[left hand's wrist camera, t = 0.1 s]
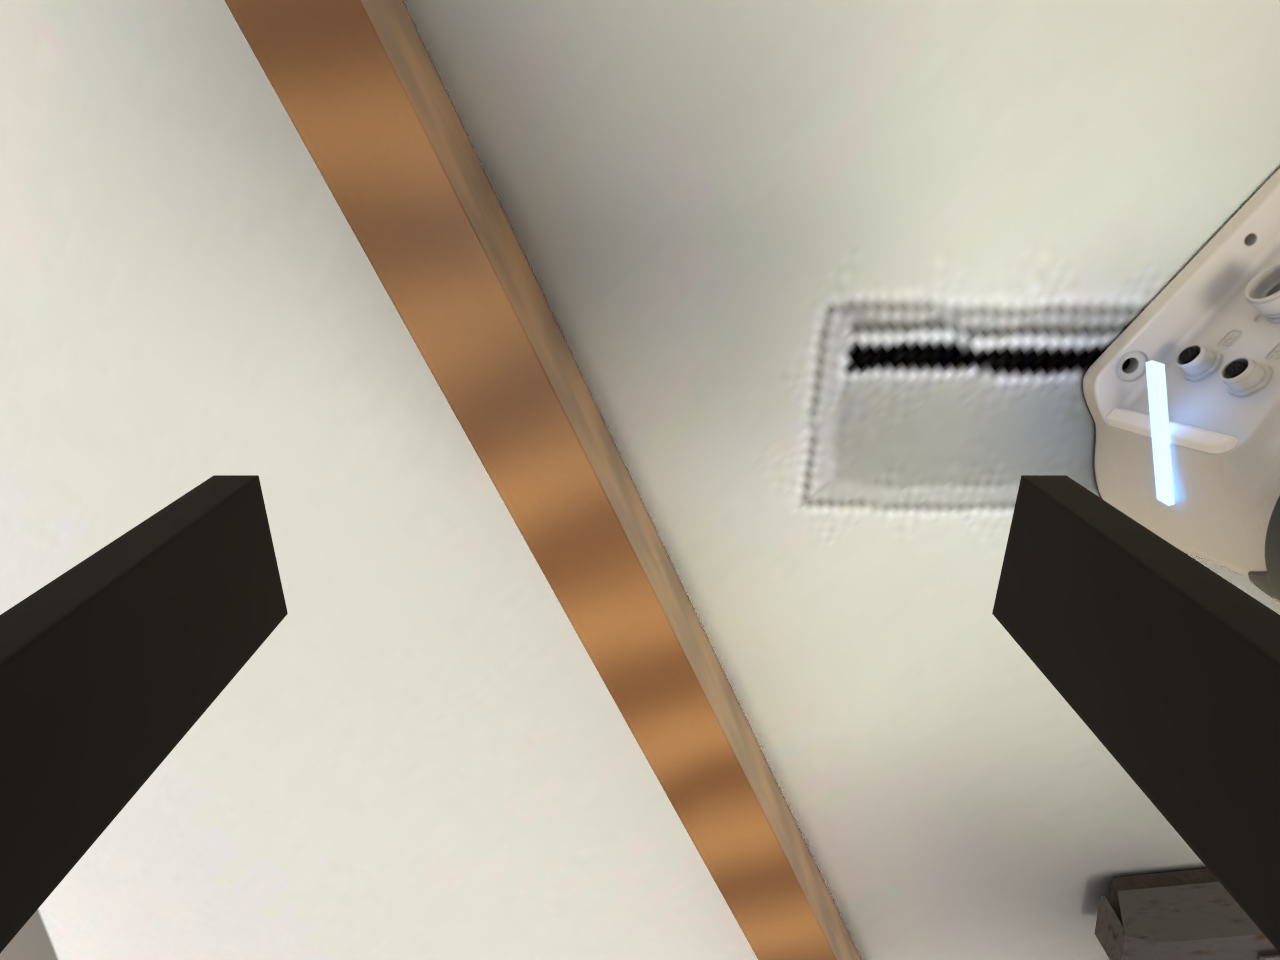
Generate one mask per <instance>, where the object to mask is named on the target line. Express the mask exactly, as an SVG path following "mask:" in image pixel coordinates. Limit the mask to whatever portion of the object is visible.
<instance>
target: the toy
mask: <svg viewBox="0 0 1280 960" xmlns="http://www.w3.org/2000/svg"><path fill="white" fill-rule="evenodd" d="M1095 935H1096V937H1097V938H1098V940H1099V942H1100V943H1101V945H1102V947H1103V948H1104V950H1105V952H1106V953H1107V955H1108V957H1109V958H1110V960H1280V953H1279V952H1278V950H1277V949H1276V948H1275V947H1274V946H1273V945H1272V943H1271V942H1270V941H1269V940H1268V939H1267V937H1266V936H1265V935H1264V934H1263V933H1262V932H1261V930H1260V929H1259V928H1258V927H1257V926H1256V924H1255V923H1254V922H1253V921H1252V920H1251V919H1250V917H1249V916H1248V915H1247V914H1246V913H1245V911H1244V910H1243V909H1242V908H1241V907H1240V906H1239V904H1238V903H1237V902H1236V901H1235V900H1234V898H1233V897H1232V896H1231V895H1230V894H1229V893H1228V891H1227V890H1226V889H1225V888H1224V887H1223V885H1222V884H1221V883H1220V882H1219V881H1218V880H1217V878H1216V877H1215V876H1214V875H1213V874H1212V872H1211V871H1210V870H1209V869H1208V868H1205V869H1194V870H1184V871H1174V872H1164V873H1154V874H1144V875H1134V876H1123V877H1115V878H1114V879H1113V881H1112V884H1111V890H1110V897H1109V902H1108V900H1107V899H1106V897H1105V896H1100V901H1099V908H1098V915H1097V922H1096V929H1095Z"/></svg>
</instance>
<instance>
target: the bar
mask: <svg viewBox="0 0 1280 960" xmlns="http://www.w3.org/2000/svg"><path fill="white" fill-rule="evenodd" d="M225 2H226V4H227V5H228V7H229V9H230V11H231V13H232V14H233V16H234V18H235V20H236V22H237V23H238V25H239V27H240V29H241V31H242V32H243V34H244V36H245V38H246V40H247V41H248V43H249V45H250V47H251V49H252V50H253V52H254V54H255V56H256V58H257V59H258V61H259V63H260V65H261V66H262V68H263V70H264V72H265V74H266V75H267V77H268V79H269V81H270V83H271V84H272V86H273V88H274V90H275V92H276V93H277V95H278V97H279V99H280V101H281V102H282V104H283V106H284V108H285V110H286V111H287V113H288V115H289V117H290V119H291V120H292V122H293V124H294V126H295V128H296V129H297V131H298V133H299V135H300V137H301V138H302V140H303V142H304V144H305V146H306V147H307V149H308V151H309V153H310V155H311V156H312V158H313V160H314V162H315V164H316V165H317V167H318V169H319V171H320V173H321V174H322V176H323V178H324V180H325V182H326V183H327V185H328V187H329V189H330V190H331V192H332V194H333V196H334V198H335V199H336V201H337V203H338V205H339V207H340V208H341V210H342V212H343V214H344V216H345V217H346V219H347V221H348V223H349V225H350V226H351V228H352V230H353V232H354V234H355V235H356V237H357V239H358V241H359V243H360V244H361V246H362V248H363V250H364V252H365V253H366V255H367V257H368V259H369V261H370V262H371V264H372V266H373V268H374V270H375V271H376V273H377V275H378V277H379V279H380V280H381V282H382V284H383V286H384V288H385V289H386V291H387V293H388V295H389V297H390V298H391V300H392V302H393V304H394V306H395V307H396V309H397V311H398V313H399V315H400V316H401V318H402V320H403V322H404V323H405V325H406V327H407V329H408V331H409V332H410V334H411V336H412V338H413V340H414V341H415V343H416V345H417V347H418V349H419V350H420V352H421V354H422V356H423V358H424V359H425V361H426V363H427V365H428V367H429V368H430V370H431V372H432V374H433V376H434V377H435V379H436V381H437V383H438V385H439V386H440V388H441V390H442V392H443V394H444V395H445V397H446V399H447V401H448V403H449V404H450V406H451V408H452V410H453V412H454V413H455V415H456V417H457V419H458V421H459V422H460V424H461V426H462V428H463V430H464V431H465V433H466V435H467V437H468V439H469V440H470V442H471V444H472V446H473V447H474V449H475V451H476V453H477V455H478V456H479V458H480V460H481V462H482V464H483V465H484V467H485V469H486V471H487V473H488V474H489V476H490V478H491V480H492V482H493V483H494V485H495V487H496V489H497V491H498V492H499V494H500V496H501V498H502V500H503V501H504V503H505V505H506V507H507V509H508V510H509V512H510V514H511V516H512V518H513V519H514V521H515V523H516V525H517V527H518V528H519V530H520V532H521V534H522V536H523V537H524V539H525V541H526V543H527V545H528V546H529V548H530V550H531V552H532V554H533V555H534V557H535V559H536V561H537V563H538V564H539V566H540V568H541V570H542V572H543V573H544V575H545V577H546V579H547V580H548V582H549V584H550V586H551V588H552V589H553V591H554V593H555V595H556V597H557V598H558V600H559V602H560V604H561V606H562V607H563V609H564V611H565V613H566V615H567V616H568V618H569V620H570V622H571V624H572V625H573V627H574V629H575V631H576V633H577V634H578V636H579V638H580V640H581V642H582V643H583V645H584V647H585V649H586V651H587V652H588V654H589V656H590V658H591V660H592V661H593V663H594V665H595V667H596V669H597V670H598V672H599V674H600V676H601V678H602V679H603V681H604V683H605V685H606V687H607V688H608V690H609V692H610V694H611V696H612V697H613V699H614V701H615V703H616V704H617V706H618V708H619V710H620V712H621V713H622V715H623V717H624V719H625V721H626V722H627V724H628V726H629V728H630V730H631V731H632V733H633V735H634V737H635V739H636V740H637V742H638V744H639V746H640V748H641V749H642V751H643V753H644V755H645V757H646V758H647V760H648V762H649V764H650V766H651V767H652V769H653V771H654V773H655V775H656V776H657V778H658V780H659V782H660V784H661V785H662V787H663V789H664V791H665V793H666V794H667V796H668V798H669V800H670V802H671V803H672V805H673V807H674V809H675V811H676V812H677V814H678V816H679V818H680V820H681V821H682V823H683V825H684V827H685V829H686V830H687V832H688V834H689V836H690V837H691V839H692V841H693V843H694V845H695V846H696V848H697V850H698V852H699V854H700V855H701V857H702V859H703V861H704V863H705V864H706V866H707V868H708V870H709V872H710V873H711V875H712V877H713V879H714V881H715V882H716V884H717V886H718V888H719V890H720V891H721V893H722V895H723V897H724V899H725V900H726V902H727V904H728V906H729V908H730V909H731V911H732V913H733V915H734V917H735V918H736V920H737V922H738V924H739V926H740V927H741V929H742V931H743V933H744V935H745V936H746V938H747V940H748V942H749V944H750V945H751V947H752V949H753V951H754V953H755V954H756V956H757V958H758V960H861V958H860V956H859V954H858V952H857V950H856V948H855V945H854V943H853V941H852V939H851V937H850V935H849V933H848V931H847V929H846V927H845V925H844V922H843V920H842V918H841V916H840V914H839V912H838V910H837V908H836V906H835V904H834V902H833V899H832V897H831V895H830V893H829V891H828V889H827V887H826V885H825V883H824V881H823V879H822V876H821V874H820V872H819V870H818V868H817V866H816V864H815V862H814V860H813V858H812V856H811V853H810V851H809V849H808V847H807V845H806V843H805V841H804V839H803V837H802V835H801V833H800V830H799V828H798V826H797V824H796V822H795V820H794V818H793V816H792V814H791V812H790V810H789V807H788V805H787V803H786V801H785V799H784V797H783V795H782V793H781V791H780V789H779V787H778V784H777V782H776V780H775V778H774V776H773V774H772V772H771V770H770V768H769V766H768V764H767V761H766V759H765V757H764V755H763V753H762V751H761V749H760V747H759V745H758V743H757V741H756V738H755V736H754V734H753V732H752V730H751V728H750V726H749V724H748V722H747V720H746V718H745V715H744V713H743V711H742V709H741V707H740V705H739V703H738V701H737V699H736V697H735V695H734V692H733V690H732V688H731V686H730V684H729V682H728V680H727V678H726V676H725V674H724V672H723V669H722V667H721V665H720V663H719V661H718V659H717V657H716V655H715V653H714V651H713V649H712V646H711V644H710V642H709V640H708V638H707V636H706V634H705V632H704V630H703V628H702V626H701V623H700V621H699V619H698V617H697V615H696V613H695V611H694V609H693V607H692V605H691V603H690V600H689V598H688V596H687V594H686V592H685V590H684V588H683V586H682V584H681V582H680V580H679V577H678V575H677V573H676V571H675V569H674V567H673V565H672V563H671V561H670V559H669V557H668V554H667V552H666V550H665V548H664V546H663V544H662V542H661V540H660V538H659V536H658V534H657V531H656V529H655V527H654V525H653V523H652V521H651V519H650V517H649V515H648V513H647V511H646V508H645V506H644V504H643V502H642V500H641V498H640V496H639V494H638V492H637V490H636V488H635V485H634V483H633V481H632V479H631V477H630V475H629V473H628V471H627V469H626V467H625V465H624V462H623V460H622V458H621V456H620V454H619V452H618V450H617V448H616V446H615V444H614V442H613V439H612V437H611V435H610V433H609V431H608V429H607V427H606V425H605V423H604V421H603V419H602V416H601V414H600V412H599V410H598V408H597V406H596V404H595V402H594V400H593V398H592V396H591V393H590V391H589V389H588V387H587V385H586V383H585V381H584V379H583V377H582V375H581V373H580V370H579V368H578V366H577V364H576V362H575V360H574V358H573V356H572V354H571V352H570V350H569V347H568V345H567V343H566V341H565V339H564V337H563V335H562V333H561V331H560V329H559V327H558V324H557V322H556V320H555V318H554V316H553V314H552V312H551V310H550V308H549V306H548V304H547V301H546V299H545V297H544V295H543V293H542V291H541V289H540V287H539V285H538V283H537V281H536V278H535V276H534V274H533V272H532V270H531V268H530V266H529V264H528V262H527V260H526V258H525V255H524V253H523V251H522V249H521V247H520V245H519V243H518V241H517V239H516V237H515V235H514V233H513V230H512V228H511V226H510V224H509V222H508V220H507V218H506V216H505V214H504V212H503V210H502V207H501V205H500V203H499V201H498V199H497V197H496V195H495V193H494V191H493V189H492V187H491V184H490V182H489V180H488V178H487V176H486V174H485V172H484V170H483V168H482V166H481V164H480V161H479V159H478V157H477V155H476V153H475V151H474V149H473V147H472V145H471V143H470V141H469V138H468V136H467V134H466V132H465V130H464V128H463V126H462V124H461V122H460V120H459V118H458V115H457V113H456V111H455V109H454V107H453V105H452V103H451V101H450V99H449V97H448V95H447V92H446V90H445V88H444V86H443V84H442V82H441V80H440V78H439V76H438V74H437V72H436V69H435V67H434V65H433V63H432V61H431V59H430V57H429V55H428V53H427V51H426V49H425V46H424V44H423V42H422V40H421V38H420V36H419V34H418V32H417V30H416V28H415V26H414V23H413V21H412V19H411V17H410V15H409V13H408V11H407V9H406V7H405V5H404V3H403V0H225Z"/></svg>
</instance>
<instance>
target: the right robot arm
mask: <svg viewBox="0 0 1280 960" xmlns="http://www.w3.org/2000/svg"><path fill="white" fill-rule="evenodd" d="M1129 358H1130V363H1129V365H1128V367H1127V368H1126V369H1124V370H1122V365H1123V363H1124V362H1125V360H1127V359H1129ZM1083 392H1084V396H1085V400H1086V403H1087V405H1088V408H1089V410H1090V412H1091V415H1092V417H1093V419H1094V421H1095V426H1096V444H1095V458H1094V460H1095V476H1096V482H1097V486H1098V490H1099V493H1100V495H1101V498H1102V499H1103V500H1104V501H1106V502H1107V503H1109V504H1110V505H1112V506H1113V507H1115V508H1116V509H1118V510H1120V511H1121V512H1123V513H1124V514H1126V515H1127V516H1129V517H1130V518H1132V519H1133V520H1135V521H1136V522H1138V523H1139V524H1141V525H1142V526H1144V527H1146V528H1147V529H1149V530H1150V531H1152V532H1153V533H1155V534H1156V535H1158V536H1159V537H1161V538H1162V539H1164V540H1165V541H1167V542H1168V543H1170V544H1172V545H1173V546H1175V547H1176V548H1178V549H1179V550H1181V551H1183V552H1186V553H1189V554H1192V555H1195V556H1198V557H1201V558H1203V559H1206V560H1208V561H1211V562H1213V563H1216V564H1218V565H1220V566H1222V567H1225V568H1227V569H1229V570H1231V571H1233V572H1236V573H1238V574H1240V575H1242V576H1244V577H1246V578H1248V579H1250V581H1251V582H1252V583H1253V584H1254V585H1256V586H1257V587H1258V588H1259V589H1261V590H1262V591H1263V592H1265V593H1266V594H1268V595H1269V596H1271V600H1272V601H1274V602H1275V603H1277V604H1278V605H1280V168H1279V169H1278V170H1277V171H1276V172H1275V173H1274V174H1273V175H1272V176H1271V177H1270V178H1269V179H1268V180H1267V181H1266V182H1265V183H1264V185H1263V186H1262V187H1261V188H1260V189H1259V190H1258V191H1257V192H1256V193H1255V194H1254V195H1253V196H1252V197H1251V198H1250V199H1249V200H1248V201H1247V202H1246V203H1245V204H1244V206H1243V207H1242V208H1241V209H1240V210H1239V211H1238V212H1237V213H1236V214H1235V215H1234V216H1233V217H1232V218H1231V219H1230V220H1229V221H1228V222H1227V223H1226V224H1225V225H1224V227H1223V228H1222V229H1221V230H1220V231H1219V232H1218V233H1217V234H1216V235H1215V236H1214V237H1213V238H1212V239H1211V240H1210V241H1209V242H1208V243H1207V244H1206V245H1205V246H1204V247H1203V249H1202V250H1201V251H1200V252H1199V253H1198V254H1197V255H1196V256H1195V257H1194V258H1193V259H1192V260H1191V261H1190V262H1189V263H1188V264H1187V265H1186V266H1185V267H1184V268H1183V270H1182V271H1181V272H1180V273H1179V274H1178V275H1177V276H1176V277H1175V278H1174V279H1173V280H1172V281H1171V282H1170V283H1169V284H1168V285H1167V286H1166V287H1165V288H1164V289H1163V290H1162V292H1161V293H1160V294H1159V295H1158V296H1157V297H1156V298H1155V299H1154V300H1153V301H1152V302H1151V303H1150V304H1149V305H1148V306H1147V307H1146V308H1145V309H1144V310H1143V311H1142V313H1141V314H1140V315H1139V316H1138V317H1137V318H1136V319H1135V320H1134V321H1133V322H1132V323H1131V324H1130V325H1129V326H1128V327H1127V328H1126V329H1125V330H1124V331H1123V332H1122V334H1121V335H1120V336H1119V337H1118V338H1117V339H1116V340H1115V341H1114V342H1113V343H1112V344H1111V345H1110V346H1109V347H1108V348H1107V349H1106V350H1105V351H1104V352H1103V353H1102V354H1101V356H1100V357H1099V358H1098V359H1097V360H1096V361H1095V362H1094V363H1093V364H1092V365H1091V366H1090V367H1089V369H1088V370H1087V372H1086V374H1085V376H1084V379H1083Z"/></svg>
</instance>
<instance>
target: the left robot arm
mask: <svg viewBox="0 0 1280 960" xmlns="http://www.w3.org/2000/svg"><path fill="white" fill-rule="evenodd" d="M287 614H288V613H287V608H286V604H285V599H284V594H283V590H282V585H281V580H280V575H279V571H278V566H277V561H276V556H275V552H274V547H273V542H272V538H271V533H270V528H269V523H268V519H267V514H266V509H265V504H264V500H263V495H262V490H261V486H260V481H259V476H212V477H211V478H209V479H208V480H206V481H205V482H203V483H202V484H200V485H199V486H197V487H196V488H194V489H193V490H191V491H190V492H188V493H186V494H185V495H183V496H182V497H180V498H179V499H177V500H176V501H174V502H173V503H171V504H170V505H168V506H167V507H165V508H164V509H162V510H160V511H159V512H157V513H156V514H154V515H153V516H151V517H150V518H148V519H147V520H145V521H144V522H142V523H141V524H139V525H138V526H136V527H134V528H133V529H131V530H130V531H128V532H127V533H125V534H124V535H122V536H121V537H119V538H118V539H116V540H115V541H113V542H112V543H110V544H108V545H107V546H105V547H104V548H102V549H101V550H99V551H98V552H96V553H95V554H93V555H92V556H90V557H89V558H87V559H85V560H84V561H82V562H81V563H79V564H78V565H76V566H75V567H73V568H72V569H70V570H69V571H67V572H66V573H64V574H63V575H61V576H59V577H58V578H56V579H55V580H53V581H52V582H50V583H49V584H47V585H46V586H44V587H43V588H41V589H40V590H38V591H37V592H35V593H33V594H32V595H30V596H29V597H27V598H26V599H24V600H23V601H21V602H20V603H18V604H17V605H15V606H14V607H12V608H11V609H9V610H7V611H6V612H4V613H3V614H1V615H0V953H1V952H2V950H3V949H4V948H5V947H6V946H7V944H8V943H9V942H10V941H11V940H12V939H13V937H14V936H15V935H16V934H17V933H18V931H19V930H20V929H21V928H22V927H23V926H24V924H25V923H26V922H27V921H28V920H29V919H30V917H31V916H32V915H33V914H34V913H35V911H36V910H37V909H38V908H39V907H40V906H41V904H42V903H43V902H44V901H45V900H46V898H47V897H48V896H49V895H50V894H51V893H52V891H53V890H54V889H55V888H56V887H57V885H58V884H59V883H60V882H61V881H62V880H63V878H64V877H65V876H66V875H67V874H68V872H69V871H70V870H71V869H72V868H73V867H74V865H75V864H76V863H77V862H78V861H79V859H80V858H81V857H82V856H83V855H84V854H85V852H86V851H87V850H88V849H89V848H90V846H91V845H92V844H93V843H94V842H95V841H96V839H97V838H98V837H99V836H100V835H101V833H102V832H103V831H104V830H105V829H106V828H107V826H108V825H109V824H110V823H111V822H112V820H113V819H114V818H115V817H116V816H117V815H118V813H119V812H120V811H121V810H122V809H123V807H124V806H125V805H126V804H127V803H128V802H129V800H130V799H131V798H132V797H133V796H134V794H135V793H136V792H137V791H138V790H139V789H140V787H141V786H142V785H143V784H144V783H145V781H146V780H147V779H148V778H149V777H150V776H151V774H152V773H153V772H154V771H155V770H156V768H157V767H158V766H159V765H160V764H161V763H162V761H163V760H164V759H165V758H166V757H167V755H168V754H169V753H170V752H171V751H172V750H173V748H174V747H175V746H176V745H177V744H178V742H179V741H180V740H181V739H182V738H183V737H184V735H185V734H186V733H187V732H188V731H189V729H190V728H191V727H192V726H193V725H194V724H195V722H196V721H197V720H198V719H199V718H200V716H201V715H202V714H203V713H204V712H205V711H206V709H207V708H208V707H209V706H210V705H211V703H212V702H213V701H214V700H215V699H216V698H217V696H218V695H219V694H220V693H221V692H222V690H223V689H224V688H225V687H226V686H227V685H228V683H229V682H230V681H231V680H232V679H233V677H234V676H235V675H236V674H237V673H238V672H239V670H240V669H241V668H242V667H243V666H244V664H245V663H246V662H247V661H248V660H249V659H250V657H251V656H252V655H253V654H254V653H255V651H256V650H257V649H258V648H259V647H260V646H261V644H262V643H263V642H264V641H265V640H266V638H267V637H268V636H269V635H270V634H271V633H272V631H273V630H274V629H275V628H276V627H277V625H278V624H279V623H280V622H281V621H282V620H283V618H284V617H285V616H286V615H287ZM992 614H993V615H994V616H995V617H996V618H997V620H998V621H999V622H1000V623H1001V624H1002V625H1003V627H1004V628H1005V629H1006V630H1007V631H1008V633H1009V634H1010V635H1011V636H1012V637H1013V638H1014V640H1015V641H1016V642H1017V643H1018V644H1019V646H1020V647H1021V648H1022V649H1023V650H1024V651H1025V653H1026V654H1027V655H1028V656H1029V657H1030V659H1031V660H1032V661H1033V662H1034V663H1035V664H1036V666H1037V667H1038V668H1039V669H1040V670H1041V672H1042V673H1043V674H1044V675H1045V676H1046V677H1047V679H1048V680H1049V681H1050V682H1051V683H1052V685H1053V686H1054V687H1055V688H1056V689H1057V690H1058V692H1059V693H1060V694H1061V695H1062V696H1063V698H1064V699H1065V700H1066V701H1067V702H1068V703H1069V705H1070V706H1071V707H1072V708H1073V709H1074V711H1075V712H1076V713H1077V714H1078V715H1079V716H1080V718H1081V719H1082V720H1083V721H1084V722H1085V724H1086V725H1087V726H1088V727H1089V728H1090V729H1091V731H1092V732H1093V733H1094V734H1095V735H1096V737H1097V738H1098V739H1099V740H1100V741H1101V742H1102V744H1103V745H1104V746H1105V747H1106V748H1107V750H1108V751H1109V752H1110V753H1111V754H1112V755H1113V757H1114V758H1115V759H1116V760H1117V761H1118V763H1119V764H1120V765H1121V766H1122V767H1123V768H1124V770H1125V771H1126V772H1127V773H1128V774H1129V776H1130V777H1131V778H1132V779H1133V780H1134V781H1135V783H1136V784H1137V785H1138V786H1139V787H1140V789H1141V790H1142V791H1143V792H1144V793H1145V794H1146V796H1147V797H1148V798H1149V799H1150V800H1151V802H1152V803H1153V804H1154V805H1155V806H1156V807H1157V809H1158V810H1159V811H1160V812H1161V813H1162V815H1163V816H1164V817H1165V818H1166V819H1167V820H1168V822H1169V823H1170V824H1171V825H1172V826H1173V828H1174V829H1175V830H1176V831H1177V832H1178V833H1179V835H1180V836H1181V837H1182V838H1183V839H1184V841H1185V842H1186V843H1187V844H1188V845H1189V846H1190V848H1191V849H1192V850H1193V851H1194V852H1195V854H1196V855H1197V856H1198V857H1199V858H1200V859H1201V861H1202V862H1203V863H1204V864H1205V865H1206V867H1207V868H1208V869H1209V870H1210V871H1211V872H1212V874H1213V875H1214V876H1215V877H1216V878H1217V880H1218V881H1219V882H1220V883H1221V884H1222V885H1223V887H1224V888H1225V889H1226V890H1227V891H1228V893H1229V894H1230V895H1231V896H1232V897H1233V898H1234V900H1235V901H1236V902H1237V903H1238V904H1239V906H1240V907H1241V908H1242V909H1243V910H1244V911H1245V913H1246V914H1247V915H1248V916H1249V917H1250V919H1251V920H1252V921H1253V922H1254V923H1255V924H1256V926H1257V927H1258V928H1259V929H1260V930H1261V932H1262V933H1263V934H1264V935H1265V936H1266V937H1267V939H1268V940H1269V941H1270V942H1271V943H1272V945H1273V946H1274V947H1275V948H1276V949H1277V950H1278V952H1279V953H1280V615H1279V614H1277V613H1276V612H1274V611H1273V610H1271V609H1269V608H1268V607H1266V606H1265V605H1263V604H1262V603H1260V602H1259V601H1257V600H1256V599H1254V598H1253V597H1251V596H1250V595H1248V594H1247V593H1245V592H1243V591H1242V590H1240V589H1239V588H1237V587H1236V586H1234V585H1233V584H1231V583H1230V582H1228V581H1227V580H1225V579H1224V578H1222V577H1221V576H1219V575H1217V574H1216V573H1214V572H1213V571H1211V570H1210V569H1208V568H1207V567H1205V566H1204V565H1202V564H1201V563H1199V562H1198V561H1196V560H1195V559H1193V558H1191V557H1190V556H1188V555H1187V554H1185V553H1184V552H1182V551H1181V550H1179V549H1178V548H1176V547H1175V546H1173V545H1172V544H1170V543H1168V542H1167V541H1165V540H1164V539H1162V538H1161V537H1159V536H1158V535H1156V534H1155V533H1153V532H1152V531H1150V530H1149V529H1147V528H1146V527H1144V526H1142V525H1141V524H1139V523H1138V522H1136V521H1135V520H1133V519H1132V518H1130V517H1129V516H1127V515H1126V514H1124V513H1123V512H1121V511H1120V510H1118V509H1116V508H1115V507H1113V506H1112V505H1110V504H1109V503H1107V502H1106V501H1104V500H1103V499H1101V498H1100V497H1098V496H1097V495H1095V494H1094V493H1092V492H1090V491H1089V490H1087V489H1086V488H1084V487H1083V486H1081V485H1080V484H1078V483H1077V482H1075V481H1074V480H1072V479H1071V478H1069V477H1068V476H1021V481H1020V486H1019V490H1018V495H1017V500H1016V504H1015V509H1014V514H1013V519H1012V523H1011V528H1010V533H1009V538H1008V542H1007V547H1006V552H1005V556H1004V561H1003V566H1002V571H1001V575H1000V580H999V585H998V590H997V594H996V599H995V604H994V608H993V613H992Z"/></svg>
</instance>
